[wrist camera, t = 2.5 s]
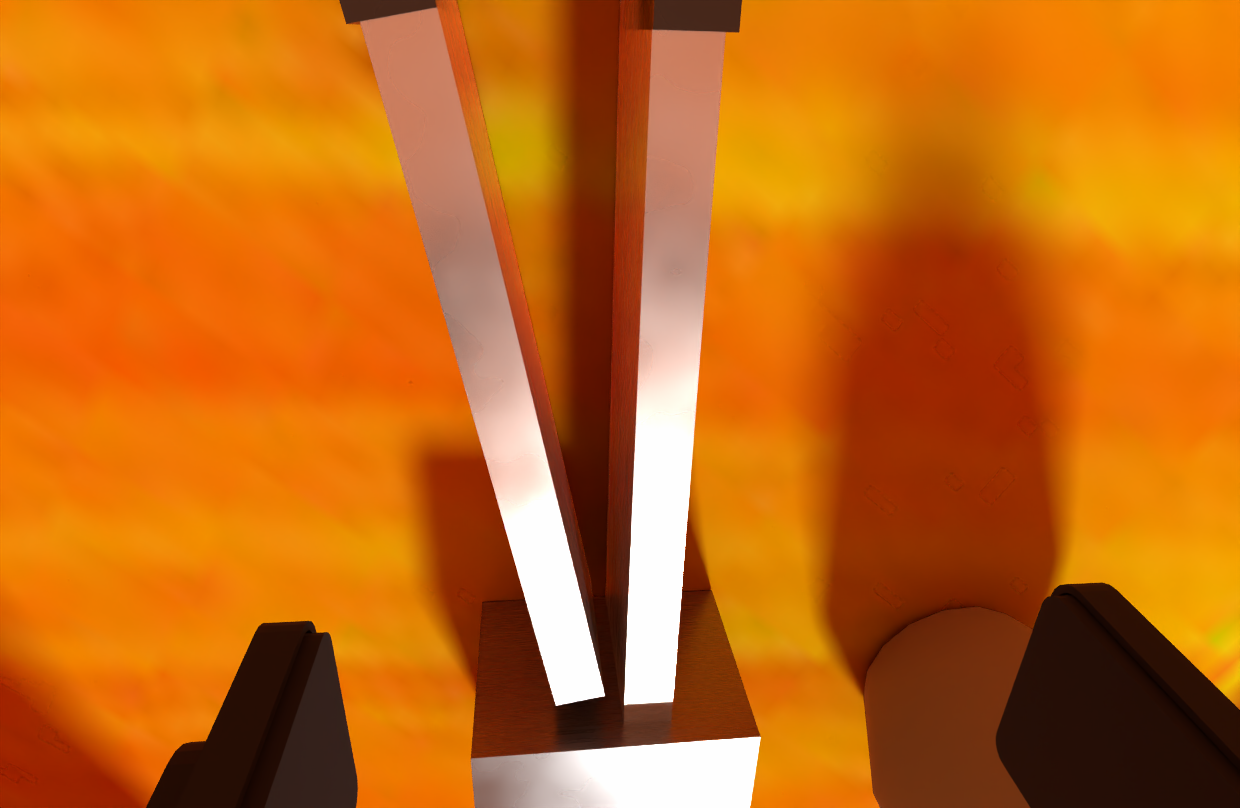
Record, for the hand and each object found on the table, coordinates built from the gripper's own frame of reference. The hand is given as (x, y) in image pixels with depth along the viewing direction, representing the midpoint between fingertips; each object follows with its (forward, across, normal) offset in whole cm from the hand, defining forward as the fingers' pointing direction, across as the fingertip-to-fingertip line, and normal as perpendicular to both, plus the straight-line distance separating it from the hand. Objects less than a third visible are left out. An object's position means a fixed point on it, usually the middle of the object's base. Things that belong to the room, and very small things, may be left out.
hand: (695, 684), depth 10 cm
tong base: (+11, 0, +1) cm, 11 cm away
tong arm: (+11, +3, -2) cm, 11 cm away
